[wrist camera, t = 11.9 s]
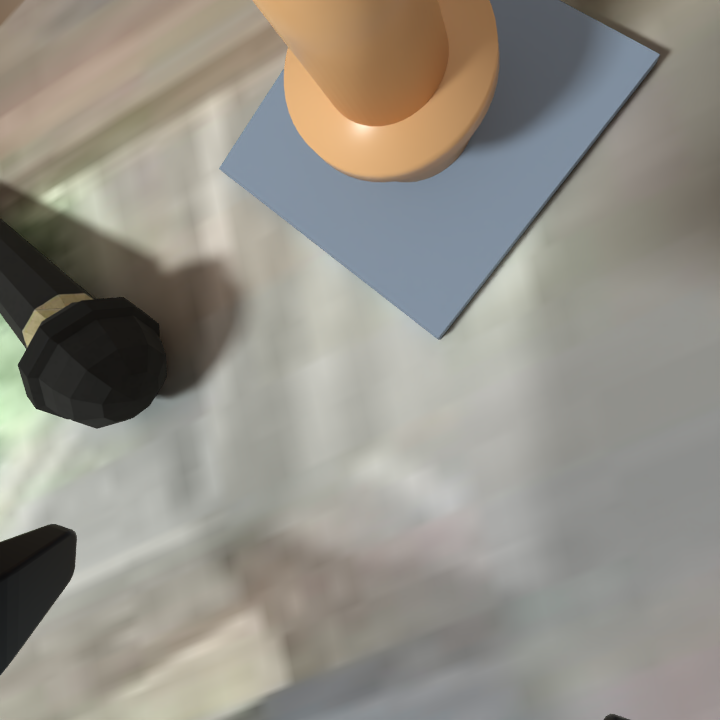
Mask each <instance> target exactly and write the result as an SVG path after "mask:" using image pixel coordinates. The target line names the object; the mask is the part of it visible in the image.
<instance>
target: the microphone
mask: <svg viewBox="0 0 720 720" xmlns="http://www.w3.org/2000/svg"><path fill="white" fill-rule="evenodd" d="M0 313H1V315H2V316H3V318H4V319H5V320H6V322H7V323H8V324H9V326H10V327H11V329H12V330H13V331H14V333H15V334H16V335H17V337H18V338H19V339H20V341H21V342H22V344H23V345H24V346H25V348H26V351H25V353H24V355H23V357H22V358H21V360H20V362H19V364H18V367H19V370H20V374H21V377H22V381H23V384H24V387H25V391H26V394H27V397H28V398H29V399H30V401H31V402H32V404H33V405H34V407H35V408H36V409H39V410H42V411H45V412H48V413H51V414H53V415H56V416H59V417H62V418H65V419H71V420H73V421H76V422H79V423H82V424H85V425H88V426H91V427H94V428H101V427H105V426H108V425H112V424H115V423H119V422H122V421H126V420H128V419H131V418H134V417H135V416H136V415H138V414H139V413H140V412H142V411H143V410H144V409H146V408H147V407H148V406H150V404H151V403H152V401H153V399H154V398H155V396H156V394H157V393H158V391H159V390H160V388H161V386H162V384H163V383H164V381H165V379H166V377H167V373H166V354H165V351H164V348H163V345H162V342H161V340H160V338H159V324H158V323H157V322H156V321H154V320H153V319H152V318H151V317H150V316H148V315H147V314H146V313H144V312H143V311H142V310H140V309H139V308H138V307H136V306H135V305H133V304H132V303H131V302H129V301H128V300H127V299H125V298H124V297H119V298H106V299H94V298H93V297H92V296H91V295H90V294H88V293H87V292H86V291H85V290H84V289H83V288H81V287H80V286H79V285H78V284H77V283H75V282H74V281H73V280H72V279H71V278H70V277H68V276H67V275H66V274H65V273H64V272H63V271H61V270H60V269H59V268H58V267H57V266H56V265H54V264H53V263H52V262H51V261H50V260H48V259H47V258H46V257H45V256H44V255H43V254H41V253H40V252H39V251H38V250H37V249H36V248H34V247H33V246H32V245H31V244H30V243H28V242H27V241H26V240H25V239H24V238H23V237H21V236H20V235H19V234H18V233H17V232H16V231H14V230H13V229H12V228H11V227H10V226H9V225H7V224H6V223H5V222H4V221H3V220H1V219H0Z"/></svg>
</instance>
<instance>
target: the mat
mask: <svg viewBox="0 0 720 720" xmlns="http://www.w3.org/2000/svg"><path fill="white" fill-rule="evenodd" d="M489 1H490V3H491V5H492V9H493V12H494V16H495V20H496V27H497V34H498V44H499V53H500V57H499V74H498V82H497V86H496V89H495V93H494V97H493V99H492V102H491V104H490V107H489V109H488V111H487V113H486V115H485V117H484V119H483V120H482V122H481V124H480V125H479V127H478V128H477V130H476V131H475V132H474V134H473V135H472V137H471V138H470V140H469V142H468V144H467V146H466V148H465V149H464V151H463V152H462V153H461V155H460V156H459V157H458V158H457V159H456V160H455V161H454V162H453V163H452V164H451V165H450V166H449V167H448V168H446V169H445V170H443V171H442V172H440V173H439V174H437V175H435V176H433V177H430V178H428V179H425V180H421V181H417V182H396V181H394V182H369V181H363V180H359V179H356V178H353V177H350V176H347V175H345V174H343V173H341V172H339V171H337V170H336V169H334V168H333V167H331V166H330V165H329V164H327V163H326V162H325V161H324V160H323V159H322V158H321V157H320V156H319V155H318V154H317V153H316V152H315V151H314V150H313V149H312V148H311V147H310V146H309V145H308V144H307V143H306V142H305V141H304V139H303V138H302V137H301V136H300V134H299V133H298V131H297V129H296V127H295V125H294V124H293V121H292V119H291V116H290V114H289V111H288V107H287V103H286V99H285V91H284V69H283V71H282V72H281V74H280V75H279V77H278V78H277V80H276V81H275V83H274V84H273V86H272V88H271V89H270V91H269V92H268V94H267V95H266V97H265V98H264V100H263V101H262V103H261V105H260V106H259V108H258V109H257V111H256V112H255V114H254V115H253V117H252V118H251V120H250V122H249V123H248V125H247V126H246V128H245V129H244V131H243V132H242V134H241V135H240V137H239V139H238V140H237V142H236V143H235V145H234V146H233V148H232V149H231V151H230V152H229V154H228V156H227V157H226V159H225V160H224V162H223V163H222V165H221V166H220V168H219V169H220V170H221V171H223V172H224V173H225V174H227V175H228V176H229V177H230V178H232V179H233V180H234V181H235V182H237V183H238V184H239V185H241V186H242V187H243V188H244V189H246V190H247V191H248V192H250V193H251V194H252V195H253V196H255V197H256V198H257V199H259V200H260V201H261V202H262V203H264V204H265V205H266V206H268V207H269V208H270V209H271V210H273V211H274V212H275V213H277V214H278V215H279V216H280V217H282V218H283V219H284V220H286V221H287V222H288V223H289V224H291V225H292V226H293V227H295V228H296V229H297V230H298V231H300V232H301V233H302V234H304V235H305V236H306V237H307V238H309V239H310V240H311V241H312V242H314V243H315V244H316V245H318V246H319V247H320V248H321V249H323V250H324V251H325V252H327V253H328V254H329V255H330V256H332V257H333V258H334V259H336V260H337V261H338V262H339V263H341V264H342V265H343V266H345V267H346V268H347V269H348V270H350V271H351V272H352V273H354V274H355V275H356V276H357V277H359V278H360V279H361V280H363V281H364V282H365V283H366V284H368V285H369V286H370V287H372V288H373V289H374V290H375V291H377V292H378V293H379V294H380V295H382V296H383V297H384V298H386V299H387V300H388V301H389V302H391V303H392V304H393V305H395V306H396V307H397V308H398V309H400V310H401V311H402V312H404V313H405V314H406V315H407V316H409V317H410V318H411V319H413V320H414V321H415V322H416V323H418V324H419V325H420V326H422V327H423V328H424V329H425V330H427V331H428V332H429V333H431V334H432V335H433V336H434V337H436V338H437V339H439V340H440V339H441V338H442V336H443V335H444V334H445V332H446V331H447V330H448V329H449V327H450V326H451V325H452V323H453V322H454V321H455V320H456V318H457V317H458V316H459V315H460V313H461V312H462V311H463V309H464V308H465V307H466V306H467V304H468V303H469V302H470V300H471V299H472V298H473V297H474V295H475V294H476V293H477V292H478V290H479V289H480V288H481V286H482V285H483V284H484V283H485V281H486V280H487V279H488V277H489V276H490V275H491V274H492V272H493V271H494V270H495V269H496V267H497V266H498V265H499V263H500V262H501V261H502V260H503V258H504V257H505V256H506V254H507V253H508V252H509V251H510V249H511V248H512V247H513V246H514V244H515V243H516V242H517V240H518V239H519V238H520V237H521V235H522V234H523V233H524V231H525V230H526V229H527V228H528V226H529V225H530V224H531V223H532V221H533V220H534V219H535V217H536V216H537V215H538V214H539V212H540V211H541V210H542V208H543V207H544V206H545V205H546V203H547V202H548V201H549V200H550V198H551V197H552V196H553V194H554V193H555V192H556V191H557V189H558V188H559V187H560V185H561V184H562V183H563V182H564V180H565V179H566V178H567V177H568V175H569V174H570V173H571V171H572V170H573V169H574V168H575V166H576V165H577V164H578V162H579V161H580V160H581V159H582V157H583V156H584V155H585V154H586V152H587V151H588V150H589V148H590V147H591V146H592V145H593V143H594V142H595V141H596V139H597V138H598V137H599V136H600V134H601V133H602V132H603V131H604V129H605V128H606V127H607V125H608V124H609V123H610V122H611V120H612V119H613V118H614V116H615V115H616V114H617V113H618V111H619V110H620V109H621V108H622V106H623V105H624V104H625V102H626V101H627V100H628V99H629V97H630V96H631V95H632V93H633V92H634V91H635V90H636V88H637V87H638V86H639V85H640V83H641V82H642V81H643V79H644V78H645V77H646V76H647V74H648V73H649V72H650V70H651V69H652V68H653V67H654V65H655V64H656V63H657V61H658V58H659V56H660V54H658V53H657V52H655V51H653V50H651V49H649V48H647V47H645V46H644V45H642V44H640V43H638V42H636V41H634V40H632V39H631V38H629V37H627V36H625V35H623V34H621V33H619V32H617V31H616V30H614V29H612V28H610V27H608V26H606V25H604V24H603V23H601V22H599V21H597V20H595V19H593V18H591V17H590V16H588V15H586V14H584V13H582V12H580V11H578V10H577V9H575V8H573V7H571V6H569V5H567V4H565V3H564V2H562V1H560V0H489Z"/></svg>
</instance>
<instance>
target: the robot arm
mask: <svg viewBox="0 0 720 720" xmlns="http://www.w3.org/2000/svg"><path fill="white" fill-rule="evenodd" d="M76 543H77V535H76V533H75V531H73V530H71V529H68V528H65V527H62V526H59V525H56V524H50V525H46V526H44V527H41V528H38V529H35V530H32V531H30V532H27V533H24V534H21V535H18V536H16V537H13V538H10V539H7V540H4V541H2V542H0V675H1V674H2V673H3V671H4V670H5V669H6V668H7V667H8V665H9V664H10V663H11V661H12V660H13V659H14V657H15V656H16V655H17V653H18V652H19V651H20V649H21V648H22V647H23V645H24V644H25V642H26V641H27V640H28V638H29V637H30V636H31V634H32V633H33V631H34V630H35V629H36V627H37V626H38V625H39V623H40V622H41V620H42V619H43V618H44V616H45V615H46V613H47V612H48V611H49V609H50V608H51V607H52V605H53V604H54V602H55V601H56V600H57V598H58V597H59V596H60V594H61V593H62V591H63V590H64V589H65V587H66V586H67V585H68V583H69V582H70V580H71V578H72V576H73V573H74V569H75V558H76ZM604 720H629V719H626V718H623V717H621V716H618V715H615V714H609V715H607V716H606V717H605V719H604Z"/></svg>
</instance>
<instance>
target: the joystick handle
mask: <svg viewBox="0 0 720 720" xmlns="http://www.w3.org/2000/svg"><path fill="white" fill-rule="evenodd" d="M253 2H254V3H255V4H256V6H257V7H258V8H259V10H260V11H261V12H262V13H263V15H264V16H265V17H266V19H267V20H268V21H269V22H270V24H271V25H272V26H273V28H274V29H275V30H276V32H277V33H278V34H279V35H280V37H281V38H282V39H283V41H284V42H285V43H286V45H287V46H288V50H287V55H286V59H285V67H284V91H285V99H286V103H287V107H288V111H289V114H290V116H291V119H292V121H293V124H294V125H295V127H296V129H297V131H298V133H299V134H300V136H301V137H302V138H303V139H304V141H305V142H306V143H307V144H308V145H309V146H310V147H311V148H312V149H313V150H314V151H315V152H316V153H317V154H318V155H319V156H320V157H321V158H322V159H323V160H324V161H325V162H326V163H327V164H329V165H330V166H331V167H333V168H334V169H336V170H337V171H339V172H341V173H343V174H345V175H347V176H350V177H353V178H356V179H359V180H363V181H369V182H394V181H396V182H417V181H421V180H425V179H428V178H430V177H433V176H435V175H437V174H439V173H440V172H442V171H443V170H445V169H446V168H448V167H449V166H450V165H451V164H452V163H453V162H454V161H455V160H456V159H457V158H458V157H459V156H460V155H461V153H462V152H463V151H464V149H465V148H466V146H467V144H468V142H469V140H470V138H471V137H472V135H473V134H474V132H475V131H476V130H477V128H478V127H479V125H480V124H481V122H482V120H483V119H484V117H485V115H486V113H487V111H488V109H489V107H490V104H491V102H492V99H493V97H494V93H495V89H496V86H497V82H498V74H499V57H500V53H499V44H498V34H497V27H496V20H495V16H494V12H493V9H492V5H491V3H490V1H489V0H253Z"/></svg>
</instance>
